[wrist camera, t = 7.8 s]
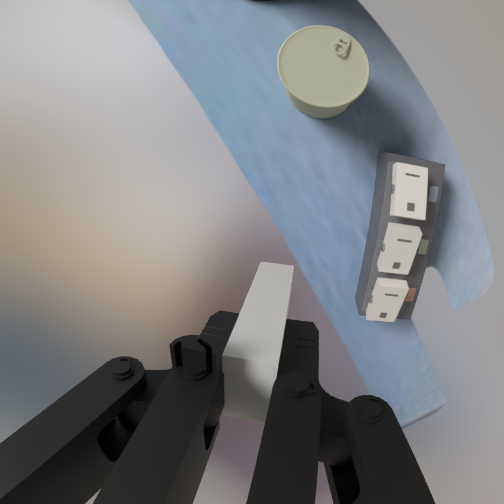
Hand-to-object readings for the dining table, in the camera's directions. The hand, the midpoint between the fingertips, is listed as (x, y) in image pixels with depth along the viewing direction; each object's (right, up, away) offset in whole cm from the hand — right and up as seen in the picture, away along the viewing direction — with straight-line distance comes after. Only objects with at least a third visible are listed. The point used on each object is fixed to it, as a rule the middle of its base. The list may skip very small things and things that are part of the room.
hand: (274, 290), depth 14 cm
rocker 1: (+17, +9, +16) cm, 25 cm away
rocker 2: (+16, +2, +19) cm, 25 cm away
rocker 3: (+16, -4, +21) cm, 27 cm away
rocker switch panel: (+19, +5, +25) cm, 32 cm away
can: (+8, +24, +21) cm, 32 cm away
